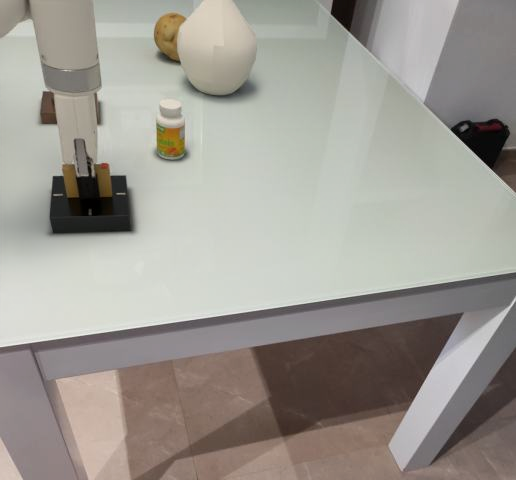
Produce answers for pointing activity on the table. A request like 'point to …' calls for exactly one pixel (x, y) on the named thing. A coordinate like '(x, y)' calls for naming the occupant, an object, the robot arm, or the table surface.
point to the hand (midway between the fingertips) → (89, 192)
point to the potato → (168, 34)
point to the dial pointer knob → (100, 170)
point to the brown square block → (49, 108)
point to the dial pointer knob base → (90, 209)
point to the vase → (216, 47)
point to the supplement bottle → (170, 130)
